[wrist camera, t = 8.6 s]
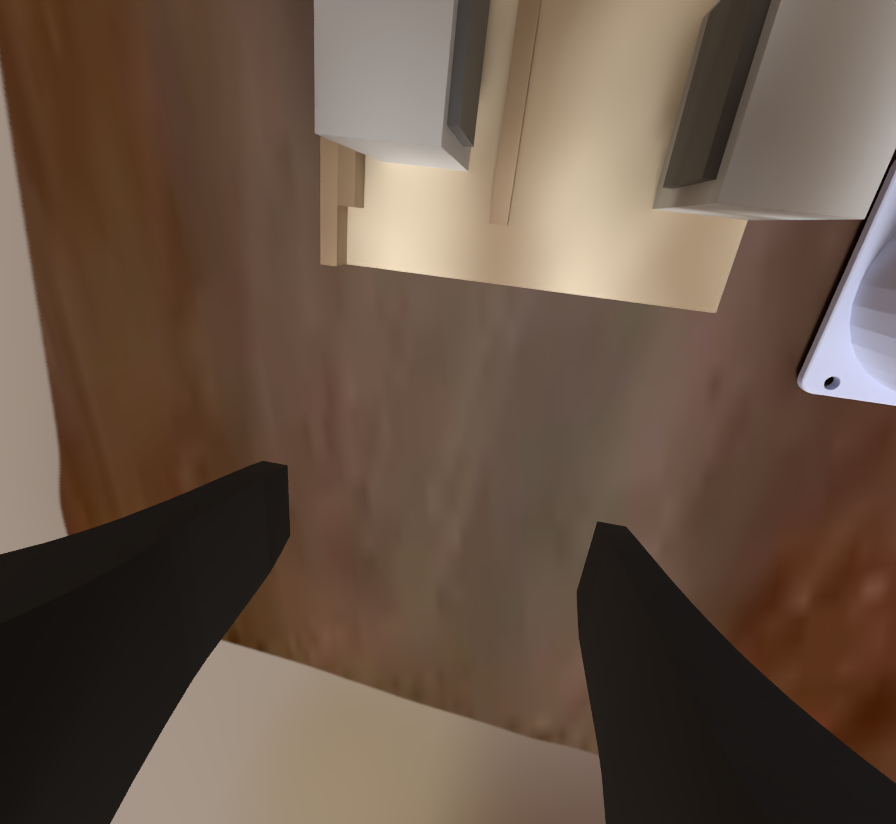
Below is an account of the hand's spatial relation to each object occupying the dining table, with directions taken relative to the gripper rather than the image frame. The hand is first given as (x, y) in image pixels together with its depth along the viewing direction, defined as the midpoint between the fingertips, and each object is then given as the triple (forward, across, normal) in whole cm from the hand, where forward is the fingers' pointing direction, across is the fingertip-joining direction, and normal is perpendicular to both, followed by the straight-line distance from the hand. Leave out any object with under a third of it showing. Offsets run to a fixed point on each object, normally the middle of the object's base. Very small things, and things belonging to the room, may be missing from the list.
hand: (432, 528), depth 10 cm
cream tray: (+10, -1, -10) cm, 14 cm away
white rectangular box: (+9, +3, -10) cm, 14 cm away
